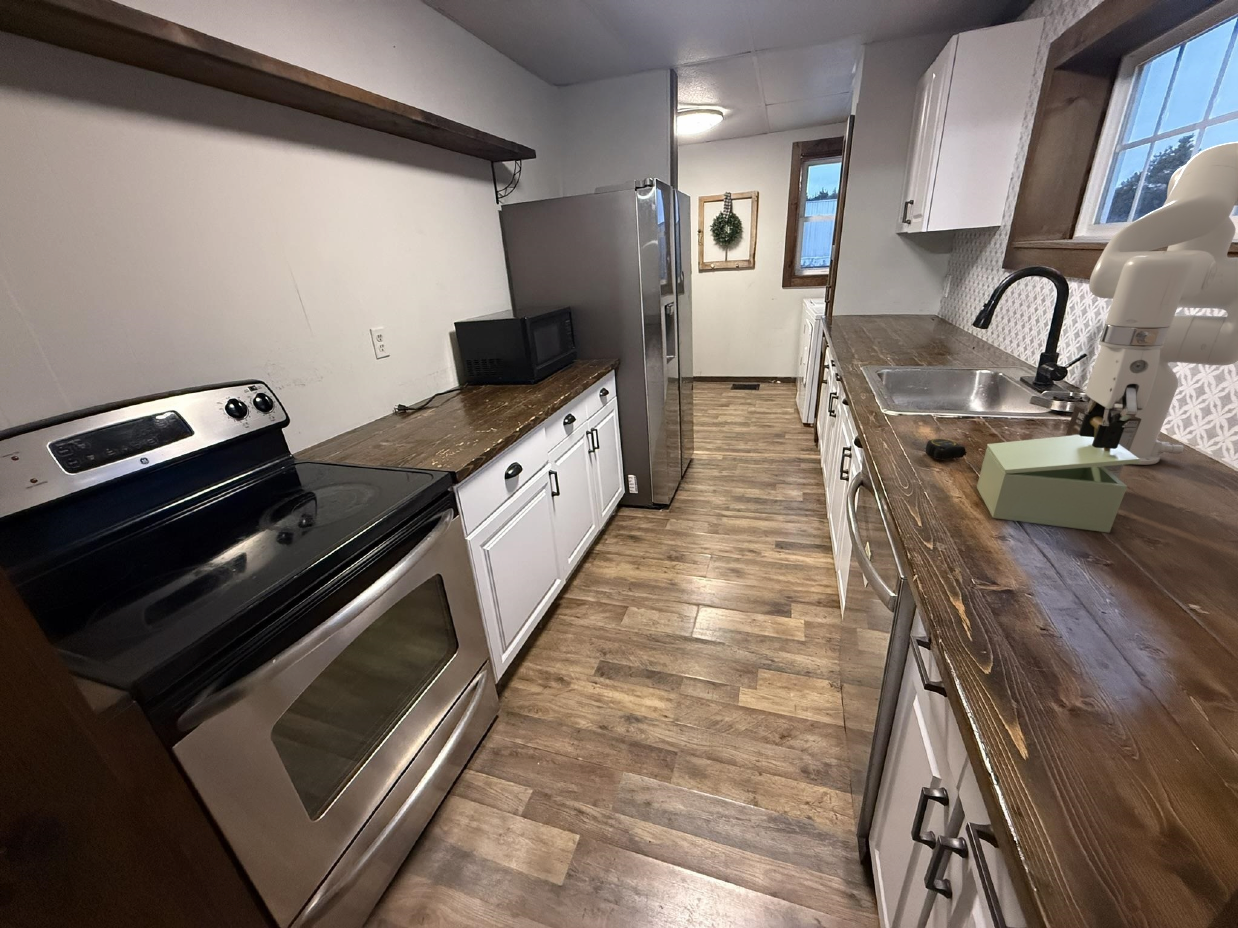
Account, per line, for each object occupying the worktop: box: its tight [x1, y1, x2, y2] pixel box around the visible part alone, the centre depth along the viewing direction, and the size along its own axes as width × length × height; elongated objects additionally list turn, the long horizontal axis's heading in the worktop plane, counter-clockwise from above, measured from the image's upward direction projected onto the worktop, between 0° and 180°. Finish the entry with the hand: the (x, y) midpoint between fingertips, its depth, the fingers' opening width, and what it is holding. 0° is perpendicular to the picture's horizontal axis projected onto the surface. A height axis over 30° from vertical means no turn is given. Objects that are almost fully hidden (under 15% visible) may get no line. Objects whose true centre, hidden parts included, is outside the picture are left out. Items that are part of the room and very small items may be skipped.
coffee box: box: [1065, 404, 1142, 480], centre depth 99 cm, size 9×6×16 cm
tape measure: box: [925, 438, 968, 461], centre depth 118 cm, size 7×7×4 cm
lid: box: [986, 416, 1140, 474], centre depth 89 cm, size 18×14×6 cm
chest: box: [976, 447, 1128, 534], centre depth 93 cm, size 17×14×9 cm
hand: (1096, 440), depth 87 cm, fingers closed on lid, 5 cm apart
